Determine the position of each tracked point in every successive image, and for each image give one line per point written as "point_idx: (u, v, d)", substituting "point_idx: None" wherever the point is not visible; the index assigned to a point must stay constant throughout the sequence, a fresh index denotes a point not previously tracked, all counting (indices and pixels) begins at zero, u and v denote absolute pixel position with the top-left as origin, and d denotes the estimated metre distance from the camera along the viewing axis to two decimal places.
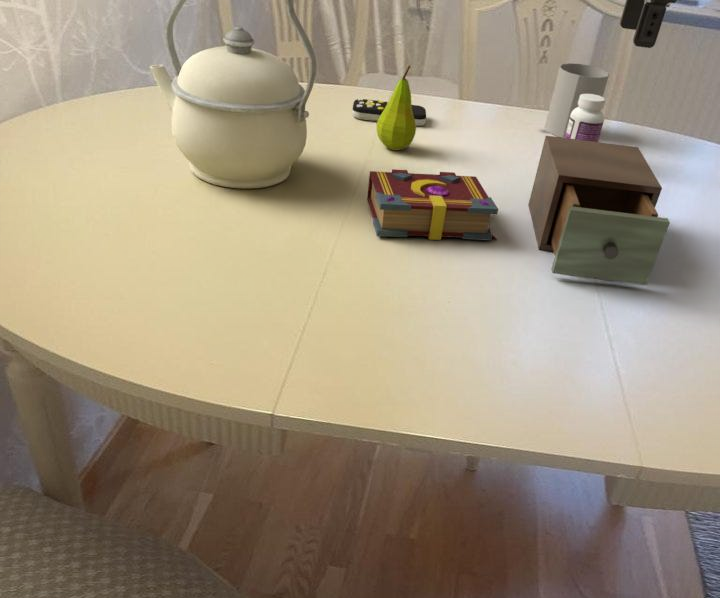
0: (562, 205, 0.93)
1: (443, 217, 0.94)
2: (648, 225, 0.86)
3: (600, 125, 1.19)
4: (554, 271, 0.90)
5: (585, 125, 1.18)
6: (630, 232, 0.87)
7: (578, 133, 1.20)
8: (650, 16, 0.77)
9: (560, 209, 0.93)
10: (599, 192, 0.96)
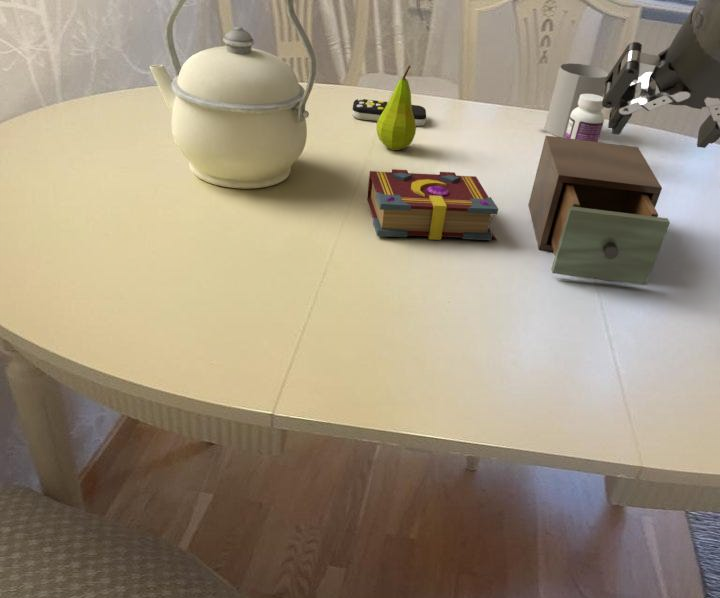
0: (562, 205, 0.93)
1: (443, 217, 0.94)
2: (648, 225, 0.86)
3: (600, 125, 1.19)
4: (554, 271, 0.90)
5: (585, 125, 1.18)
6: (630, 232, 0.87)
7: (578, 133, 1.20)
8: None
9: (560, 209, 0.93)
10: (599, 192, 0.96)
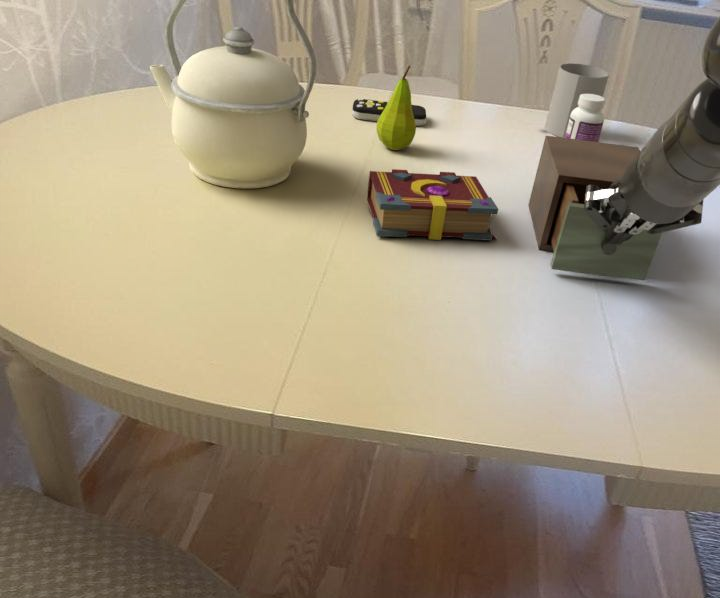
0: (561, 201, 0.93)
1: (443, 217, 0.94)
2: None
3: (600, 125, 1.19)
4: (553, 267, 0.91)
5: (585, 125, 1.18)
6: None
7: (578, 133, 1.20)
8: None
9: (559, 205, 0.94)
10: None
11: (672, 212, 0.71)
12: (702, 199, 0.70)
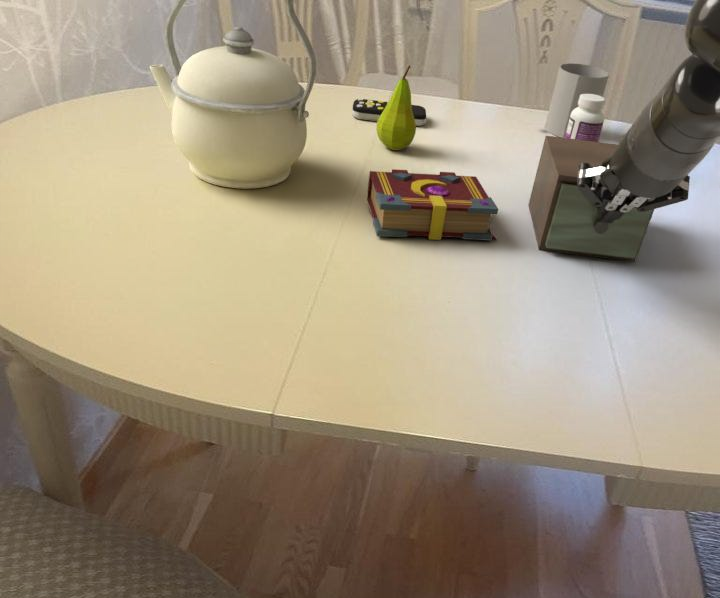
0: None
1: (443, 217, 0.94)
2: None
3: (600, 125, 1.19)
4: (548, 246, 0.96)
5: (585, 125, 1.18)
6: None
7: (578, 133, 1.20)
8: None
9: None
10: None
11: (660, 185, 0.76)
12: (688, 172, 0.74)
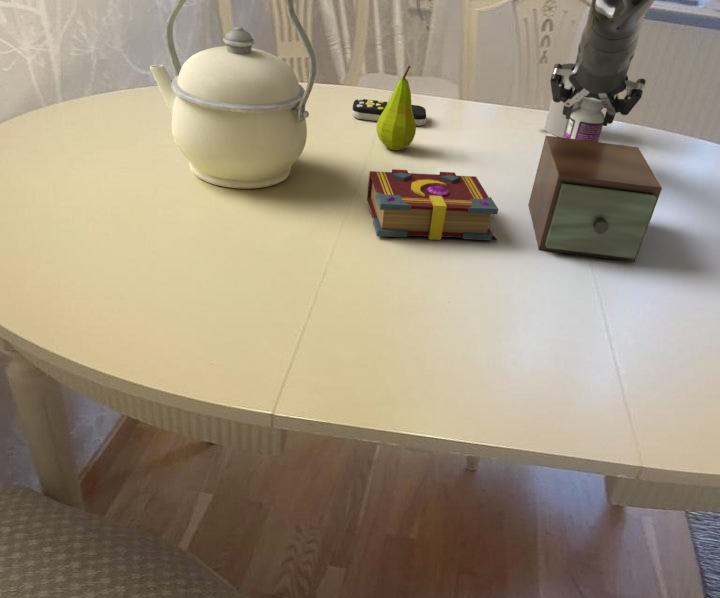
0: None
1: (443, 217, 0.94)
2: (636, 201, 0.91)
3: (600, 125, 1.19)
4: (548, 246, 0.96)
5: (586, 125, 1.18)
6: (619, 208, 0.92)
7: (578, 133, 1.20)
8: None
9: None
10: None
11: (599, 81, 1.06)
12: (618, 71, 1.04)
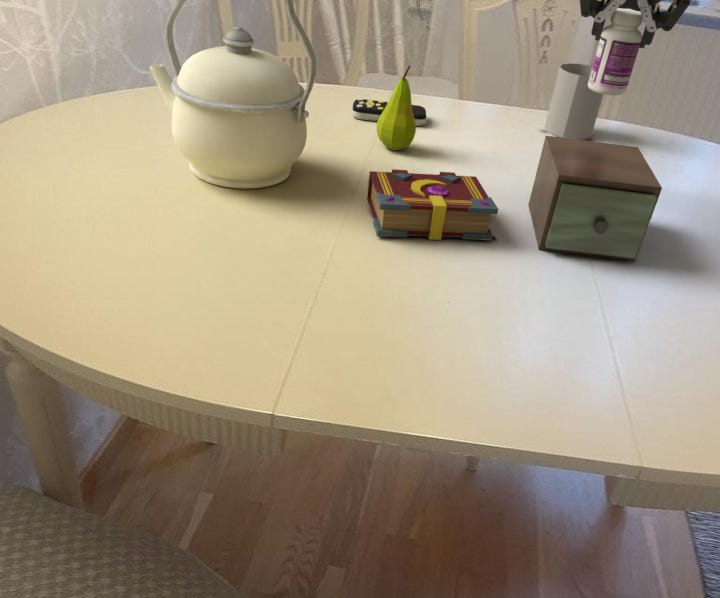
0: None
1: (443, 217, 0.94)
2: (636, 201, 0.91)
3: (637, 45, 1.00)
4: (548, 246, 0.96)
5: (620, 44, 0.99)
6: (619, 208, 0.92)
7: (610, 55, 1.00)
8: (654, 31, 0.99)
9: None
10: None
11: None
12: None
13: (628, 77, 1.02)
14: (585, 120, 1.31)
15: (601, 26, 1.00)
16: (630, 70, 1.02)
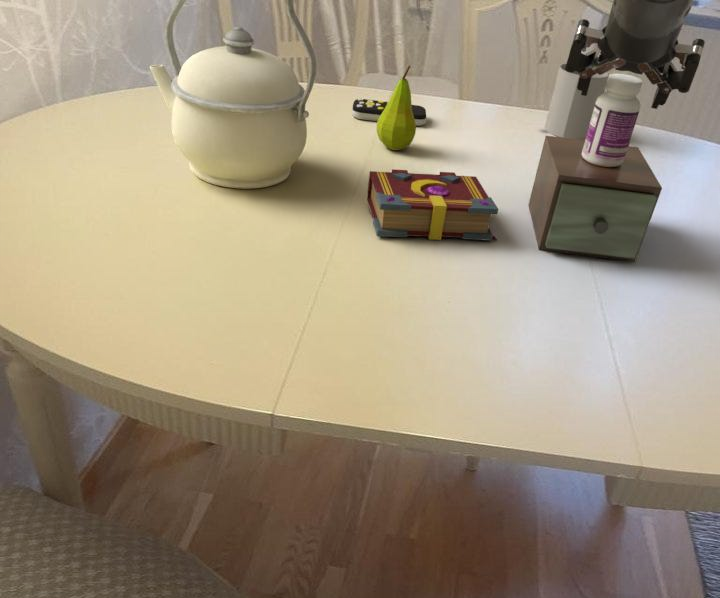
0: None
1: (443, 217, 0.94)
2: (636, 201, 0.91)
3: (635, 115, 0.91)
4: (548, 246, 0.96)
5: (616, 114, 0.90)
6: (619, 208, 0.92)
7: (606, 126, 0.91)
8: (669, 92, 0.89)
9: None
10: None
11: (642, 45, 0.77)
12: (668, 31, 0.76)
13: (626, 148, 0.93)
14: (585, 120, 1.31)
15: (588, 82, 0.90)
16: (628, 140, 0.93)
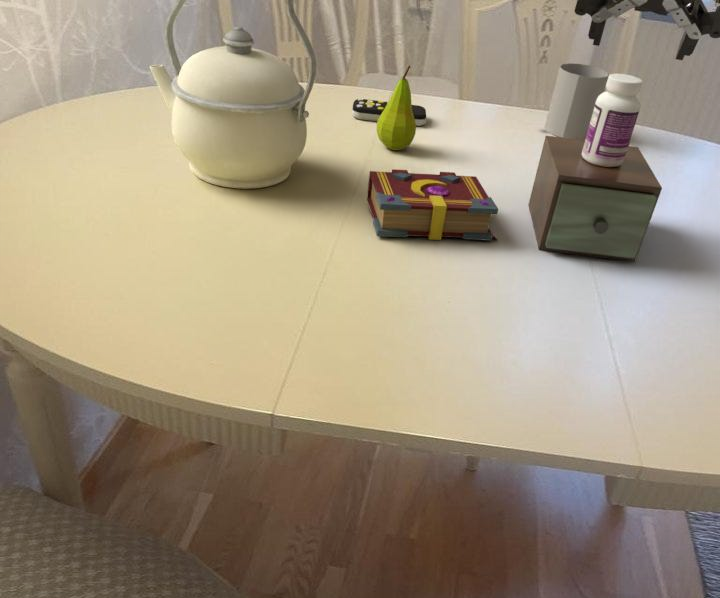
0: None
1: (443, 217, 0.94)
2: (636, 201, 0.91)
3: (635, 115, 0.91)
4: (548, 246, 0.96)
5: (616, 114, 0.90)
6: (619, 208, 0.92)
7: (606, 126, 0.91)
8: (698, 38, 0.75)
9: None
10: None
11: None
12: None
13: (626, 148, 0.93)
14: (585, 120, 1.31)
15: (601, 27, 0.76)
16: (628, 140, 0.93)
